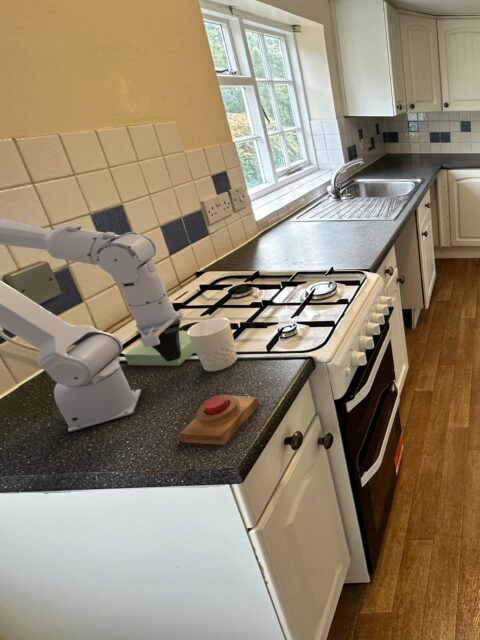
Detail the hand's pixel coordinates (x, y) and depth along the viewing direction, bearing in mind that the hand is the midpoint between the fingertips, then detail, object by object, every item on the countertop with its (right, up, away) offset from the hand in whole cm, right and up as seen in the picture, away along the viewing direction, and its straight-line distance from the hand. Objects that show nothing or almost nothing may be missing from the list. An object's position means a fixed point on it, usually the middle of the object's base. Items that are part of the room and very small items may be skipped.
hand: (174, 358), depth 81 cm
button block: (+11, -12, -2) cm, 17 cm away
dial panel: (-17, -3, +19) cm, 25 cm away
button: (+11, -9, -3) cm, 15 cm away
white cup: (-2, -5, +15) cm, 16 cm away
